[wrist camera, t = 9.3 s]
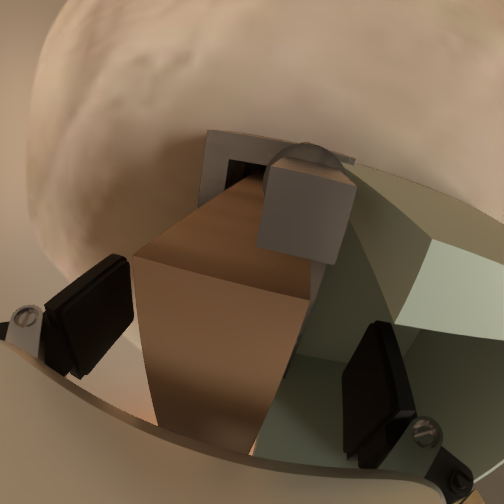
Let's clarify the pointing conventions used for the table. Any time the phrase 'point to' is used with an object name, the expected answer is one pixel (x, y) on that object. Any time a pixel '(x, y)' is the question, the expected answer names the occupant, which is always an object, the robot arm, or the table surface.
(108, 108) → the table surface
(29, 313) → the robot arm
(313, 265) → the grey brown open box
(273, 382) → the door
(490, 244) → the box
